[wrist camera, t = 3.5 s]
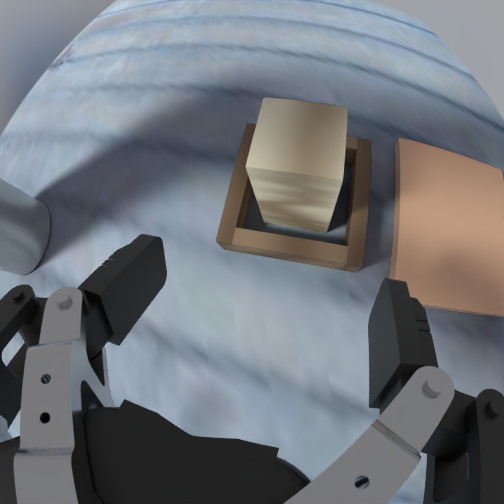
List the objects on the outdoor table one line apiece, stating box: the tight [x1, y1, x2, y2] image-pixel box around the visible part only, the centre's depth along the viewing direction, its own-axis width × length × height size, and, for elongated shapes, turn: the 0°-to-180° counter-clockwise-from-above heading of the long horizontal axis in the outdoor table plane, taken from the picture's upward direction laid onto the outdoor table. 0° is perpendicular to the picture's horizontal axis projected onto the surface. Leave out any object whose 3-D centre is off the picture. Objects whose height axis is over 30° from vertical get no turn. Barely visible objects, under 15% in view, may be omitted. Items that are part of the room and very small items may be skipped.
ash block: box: [246, 98, 348, 233], centre depth 19 cm, size 5×5×9 cm
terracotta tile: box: [389, 137, 504, 317], centre depth 20 cm, size 12×14×2 cm
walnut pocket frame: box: [216, 123, 371, 272], centre depth 22 cm, size 10×10×2 cm
